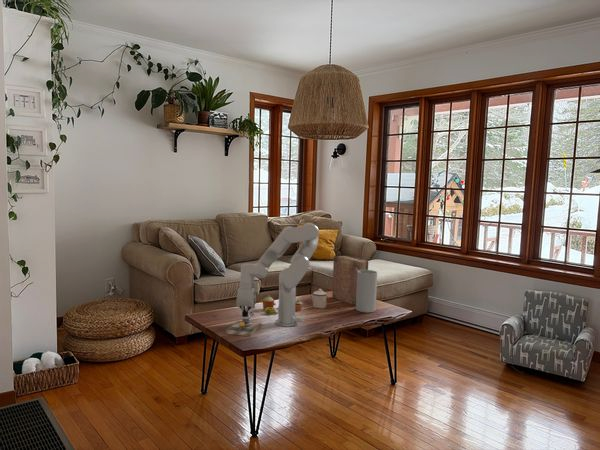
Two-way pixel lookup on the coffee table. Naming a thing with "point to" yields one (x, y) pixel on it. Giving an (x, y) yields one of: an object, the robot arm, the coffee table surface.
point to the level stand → (243, 329)
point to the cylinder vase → (366, 291)
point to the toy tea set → (269, 304)
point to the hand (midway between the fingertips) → (244, 317)
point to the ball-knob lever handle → (246, 320)
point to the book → (346, 277)
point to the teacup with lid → (319, 299)
